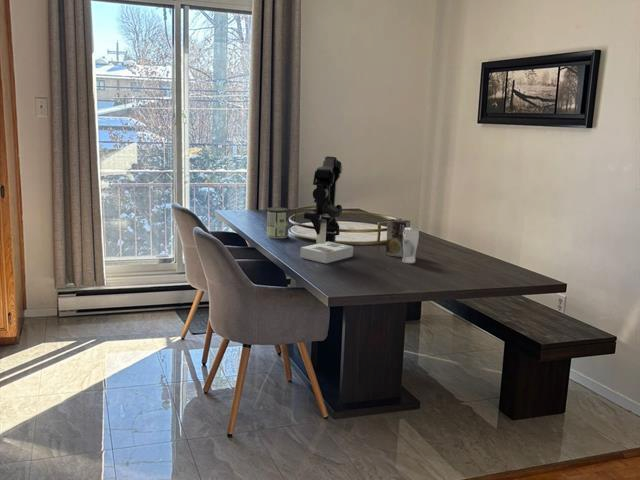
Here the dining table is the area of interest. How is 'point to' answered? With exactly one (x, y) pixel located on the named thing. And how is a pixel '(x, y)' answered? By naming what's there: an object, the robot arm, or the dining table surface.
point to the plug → (322, 233)
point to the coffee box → (395, 237)
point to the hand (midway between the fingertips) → (321, 233)
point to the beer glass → (410, 244)
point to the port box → (326, 252)
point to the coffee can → (277, 222)
